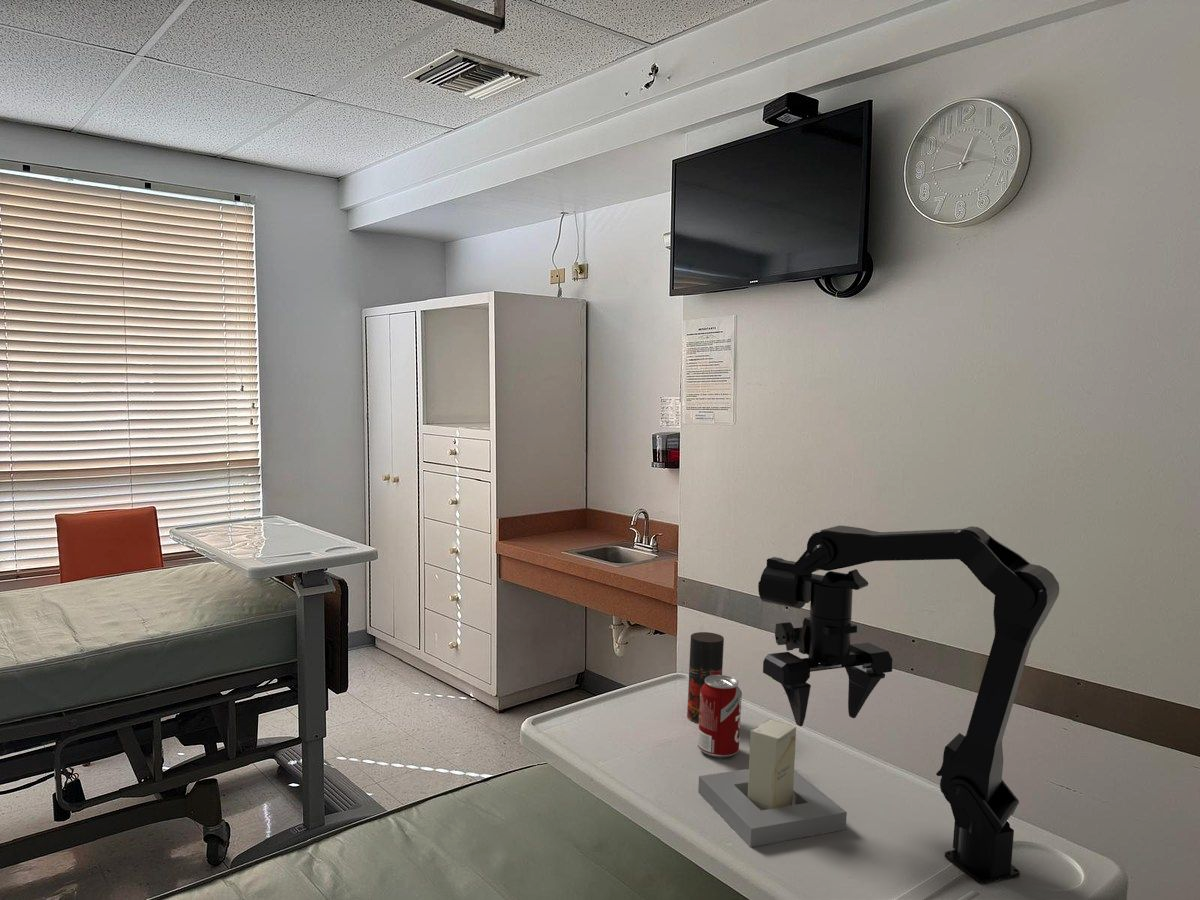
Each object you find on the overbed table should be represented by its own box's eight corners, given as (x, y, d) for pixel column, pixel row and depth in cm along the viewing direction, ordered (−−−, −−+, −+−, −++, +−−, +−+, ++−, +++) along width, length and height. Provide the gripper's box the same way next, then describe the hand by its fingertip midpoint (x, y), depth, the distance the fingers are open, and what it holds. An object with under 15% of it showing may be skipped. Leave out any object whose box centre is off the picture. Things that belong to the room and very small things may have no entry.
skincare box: (773, 824, 113) (778, 739, 112) (744, 813, 116) (749, 730, 115) (793, 807, 118) (798, 725, 117) (765, 796, 121) (769, 717, 120)
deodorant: (683, 711, 152) (687, 632, 151) (715, 711, 152) (719, 632, 151) (690, 724, 146) (694, 642, 145) (723, 724, 147) (727, 642, 145)
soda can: (707, 762, 131) (710, 689, 131) (691, 744, 138) (694, 674, 137) (745, 758, 133) (749, 686, 132) (728, 740, 140) (731, 672, 139)
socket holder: (845, 829, 113) (846, 812, 113) (750, 847, 108) (751, 828, 107) (785, 778, 127) (786, 763, 127) (698, 792, 122) (699, 776, 121)
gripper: (847, 596, 128) (842, 694, 129) (744, 605, 121) (740, 708, 122) (897, 615, 118) (892, 721, 119) (788, 626, 111) (783, 738, 112)
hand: (826, 721), depth 118 cm, fingers open, 9 cm apart
